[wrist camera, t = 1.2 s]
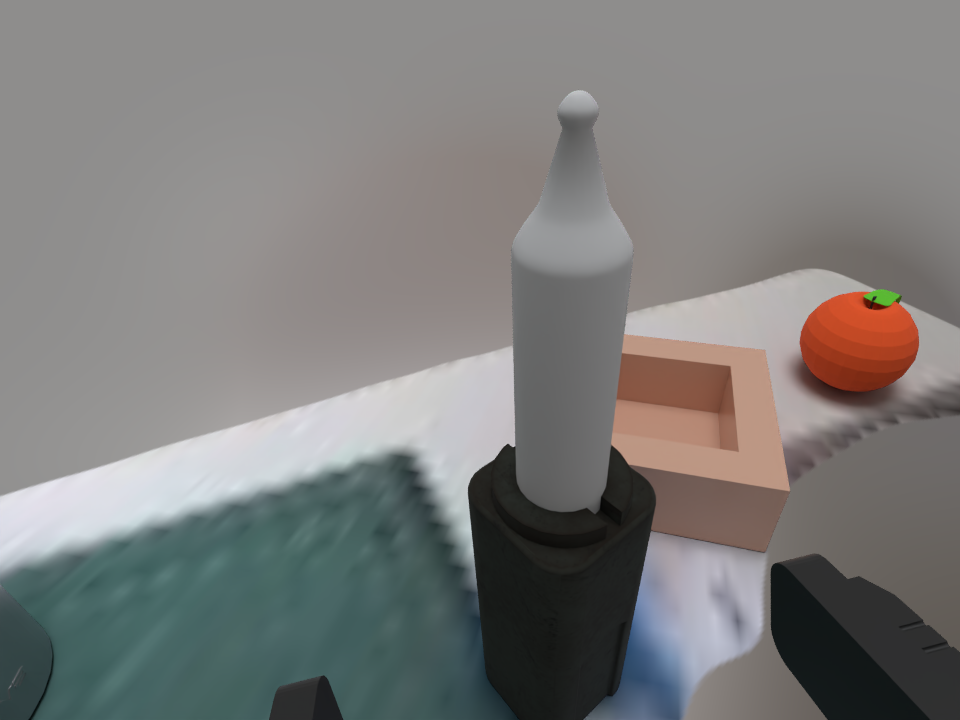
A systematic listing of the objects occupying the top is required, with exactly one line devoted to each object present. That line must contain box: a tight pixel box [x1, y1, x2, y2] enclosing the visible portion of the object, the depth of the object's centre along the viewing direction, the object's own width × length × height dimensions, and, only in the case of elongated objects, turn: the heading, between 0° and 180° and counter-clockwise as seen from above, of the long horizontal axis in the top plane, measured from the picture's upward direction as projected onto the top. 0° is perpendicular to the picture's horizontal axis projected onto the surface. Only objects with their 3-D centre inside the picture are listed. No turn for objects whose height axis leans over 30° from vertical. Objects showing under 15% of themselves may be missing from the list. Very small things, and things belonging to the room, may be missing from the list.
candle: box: [468, 91, 656, 720], centre depth 19 cm, size 5×5×25 cm
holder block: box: [611, 334, 790, 552], centre depth 36 cm, size 12×12×5 cm
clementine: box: [800, 290, 919, 391], centre depth 40 cm, size 8×7×7 cm
